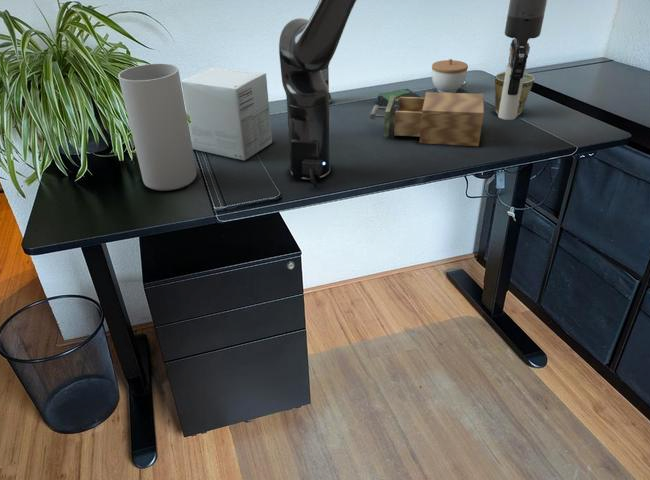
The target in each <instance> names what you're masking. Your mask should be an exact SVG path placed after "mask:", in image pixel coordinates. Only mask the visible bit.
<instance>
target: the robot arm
mask: <svg viewBox="0 0 650 480" xmlns="http://www.w3.org/2000/svg"><path fill="white" fill-rule="evenodd" d="M356 2H357V0H318V2H317V4H316V6H315V8H314V10H313V12H312V14H311V16H310V17H309V18H308V19H307V18H302V17H301V18H299V17H298V18H294V19H291V20H290V21H288V22H287V23H286V24H285V25H284V27H283V28H282V30H281V32H280V35H279V39H278V40H279V41H278V54H279V65H280V67H279V68H280V75H281V76H280V77H281V82H282V87H283V90H284V92H285V97H286V112H287V128H288V129H287V130H288V145H289V163H290V169H289V170H290V175H291V177H292V179H293V180H294V181H306V182H307V181H308V182H311V184H312V186H313V187H314V188H317V187H318V182H320V181H321V180H322V179H324V178H326V177H328V176H329V175H330V174H331V155H330V153H331V152H330V103H329V93H330V88H329V89H328V86H327V84H326V83H325V81H324V79H323V77H322V75H321V70H322V69H324V68H325V67H326V66H327V65H328V64H329V65H330V63H331V61H332V59H333V57H334V55H335V53H336V51H337V49H338V46H339V43H340V40H341V38H342V35H343V33H344V30H345V28H346V26H347V22H348V20H349V17H350V16H351V13H352V10H353V8H354V6H355V4H356ZM547 3H548V0H509V4H508V9H507V16H506V22H505V29H504V35H505V37H507V38H509V39H512V40H511V42H510V43H509V55H508V64H510V65H509V67H510V68H511V73H510V81H509V87H508V95H517V94H518V89H519V84H520V79H522V78H523V76H524V75H523V74H524V69H525V67H526V68H527V60H528V58H529V55H530V49H531V46H530V43H529V40H530V39H536V38H539V37H540V36H541V33H542V28H543V23H544V18H545V12H546V9H547ZM329 62H330V63H329ZM513 62H514V64H513ZM508 64H507V65H508ZM515 70H520V73H514V72H515ZM525 70H526V69H525Z"/></svg>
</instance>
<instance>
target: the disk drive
mask: <svg viewBox="0 0 650 480" xmlns="http://www.w3.org/2000/svg"><path fill="white" fill-rule="evenodd" d="M391 95H395V111H399V102H400V97H419V98H423V97H422V96H420V95H418V94H417V93H415V92H414V91H412V90H410V89H409V88H405V89H399V90H393V91H388V92H383V93H381V92H380V93H378V95H377V102H378V103H379V104H380V105H382V107H387V105H388V102H389V99H390V97H391ZM394 115H395V113H394Z"/></svg>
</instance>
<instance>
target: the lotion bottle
mask: <svg viewBox="0 0 650 480" xmlns="http://www.w3.org/2000/svg"><path fill="white" fill-rule="evenodd" d="M513 64H514V62H513ZM509 65H510V64H507V65H506V68H505V72H506V73H505V79H504V85H503V90H502V96H501V102H500V108H499V114H497V117H498V118H499V119H501V120H505V121H512V120H515V119H516V118H517V117H518V116H517V111H518V106H519V101H520V95H521V90H522V85H523V80H524V76H523V78H522V79H520V84H519V89H518V94H517V95H508V87H509V81H510V73H511V68H510V67H509ZM526 69H527V66H526V67H525V69H524V74H523V75H525V73H526ZM514 73H520V70H515V72H514ZM516 116H517V117H516Z"/></svg>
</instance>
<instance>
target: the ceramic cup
mask: <svg viewBox="0 0 650 480" xmlns="http://www.w3.org/2000/svg"><path fill="white" fill-rule="evenodd" d="M505 73H506V71H505V72H504V71H503V72H499V73H497V74H496V75H495V77H494V94H495V95H494V97H495V98H494V99H495V100H494V102H495V104H494V107H495V110H494V111H495V114H497V115H498V114H499V108H500V102H501V96H502V90H503V85H504V79H505ZM534 81H535V77H534V75H532V74H530V73H526V72H525V75H524V80H523V85H522V90H521V95H520V101H519V106H518V111H517V116H516V118H517V117H519V116H520V115H521V114H522V112H523V109H524V107H525V104H526V101H527V99H528V96H529V94H530V92H531V90H532V87H533V84H534Z"/></svg>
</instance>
